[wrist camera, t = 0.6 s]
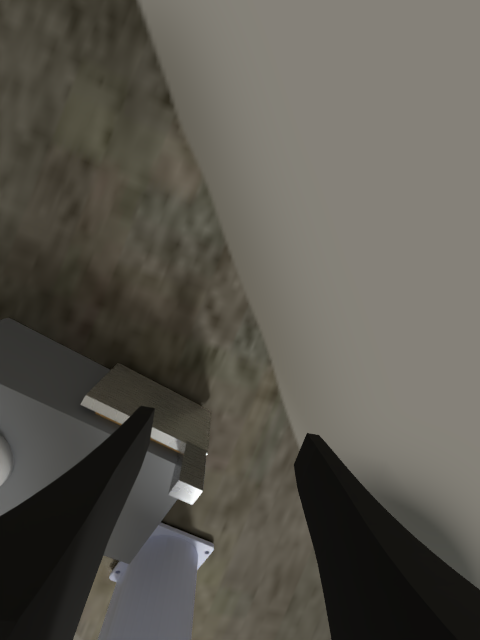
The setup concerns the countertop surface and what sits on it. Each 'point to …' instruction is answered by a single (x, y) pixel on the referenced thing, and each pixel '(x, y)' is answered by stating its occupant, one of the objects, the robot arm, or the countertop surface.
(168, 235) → the countertop surface
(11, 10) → the countertop surface
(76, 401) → the camera housing
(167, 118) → the countertop surface
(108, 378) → the side door
